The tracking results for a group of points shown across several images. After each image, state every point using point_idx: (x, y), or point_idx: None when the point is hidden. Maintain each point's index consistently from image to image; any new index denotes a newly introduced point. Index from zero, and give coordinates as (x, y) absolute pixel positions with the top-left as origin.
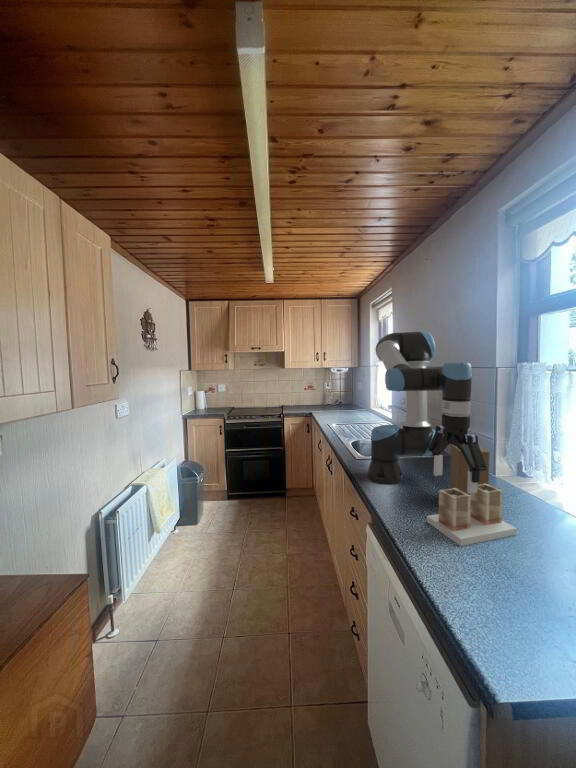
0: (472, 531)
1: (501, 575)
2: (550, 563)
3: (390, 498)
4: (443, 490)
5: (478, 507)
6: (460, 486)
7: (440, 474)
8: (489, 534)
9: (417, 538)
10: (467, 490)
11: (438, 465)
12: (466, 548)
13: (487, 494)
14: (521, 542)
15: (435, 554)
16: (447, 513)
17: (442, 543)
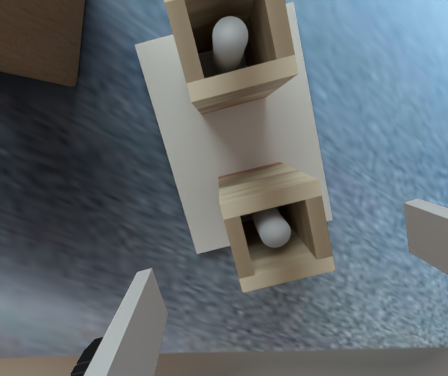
0: (298, 165)
1: (441, 185)
2: (425, 26)
3: (37, 297)
4: (246, 274)
5: (238, 100)
6: (29, 61)
7: (154, 283)
8: (314, 120)
9: (280, 301)
10: (419, 256)
11: (145, 345)
12: (335, 205)
13: (296, 71)
14: (326, 29)
15: (349, 287)
16: None
17: None
